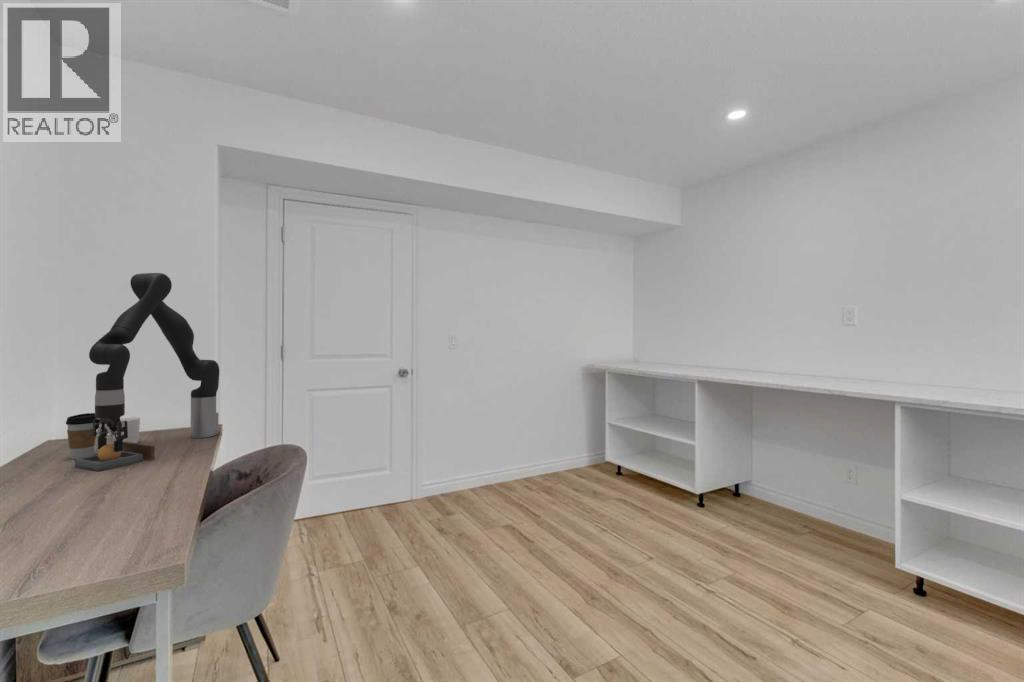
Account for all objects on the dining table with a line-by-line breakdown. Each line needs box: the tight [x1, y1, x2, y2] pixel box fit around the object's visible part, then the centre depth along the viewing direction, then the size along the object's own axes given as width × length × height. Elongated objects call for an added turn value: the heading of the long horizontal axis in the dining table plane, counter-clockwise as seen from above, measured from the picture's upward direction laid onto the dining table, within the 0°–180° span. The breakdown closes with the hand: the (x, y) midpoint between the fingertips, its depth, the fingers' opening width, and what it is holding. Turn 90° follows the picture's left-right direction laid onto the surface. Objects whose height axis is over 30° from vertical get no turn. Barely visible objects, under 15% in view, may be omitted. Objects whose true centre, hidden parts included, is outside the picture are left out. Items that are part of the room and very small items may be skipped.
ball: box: [96, 443, 121, 462], centre depth 151 cm, size 6×6×6 cm
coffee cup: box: [65, 412, 97, 460], centre depth 159 cm, size 8×8×15 cm
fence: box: [122, 441, 156, 461], centre depth 159 cm, size 1×16×5 cm, turn 71°
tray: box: [74, 451, 143, 472], centre depth 151 cm, size 13×13×2 cm
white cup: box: [116, 416, 141, 443], centre depth 178 cm, size 8×8×10 cm
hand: (110, 450), depth 151 cm, fingers open, 8 cm apart
